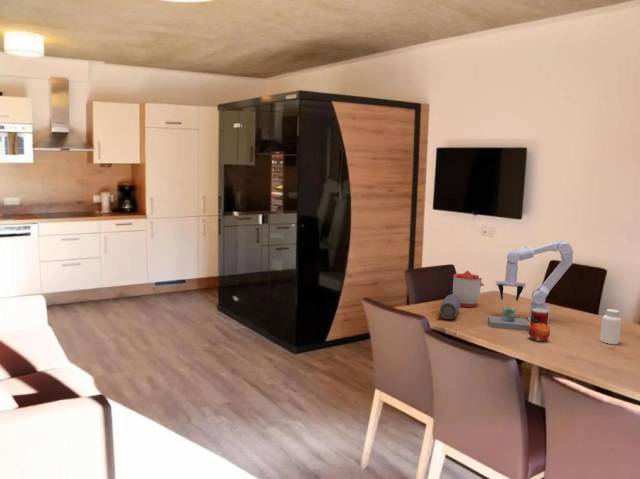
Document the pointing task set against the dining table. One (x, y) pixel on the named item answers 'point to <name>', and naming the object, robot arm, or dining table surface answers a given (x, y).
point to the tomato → (539, 331)
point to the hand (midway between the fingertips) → (509, 299)
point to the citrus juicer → (467, 288)
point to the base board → (508, 323)
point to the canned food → (539, 316)
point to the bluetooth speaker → (450, 306)
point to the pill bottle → (610, 327)
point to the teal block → (508, 314)
